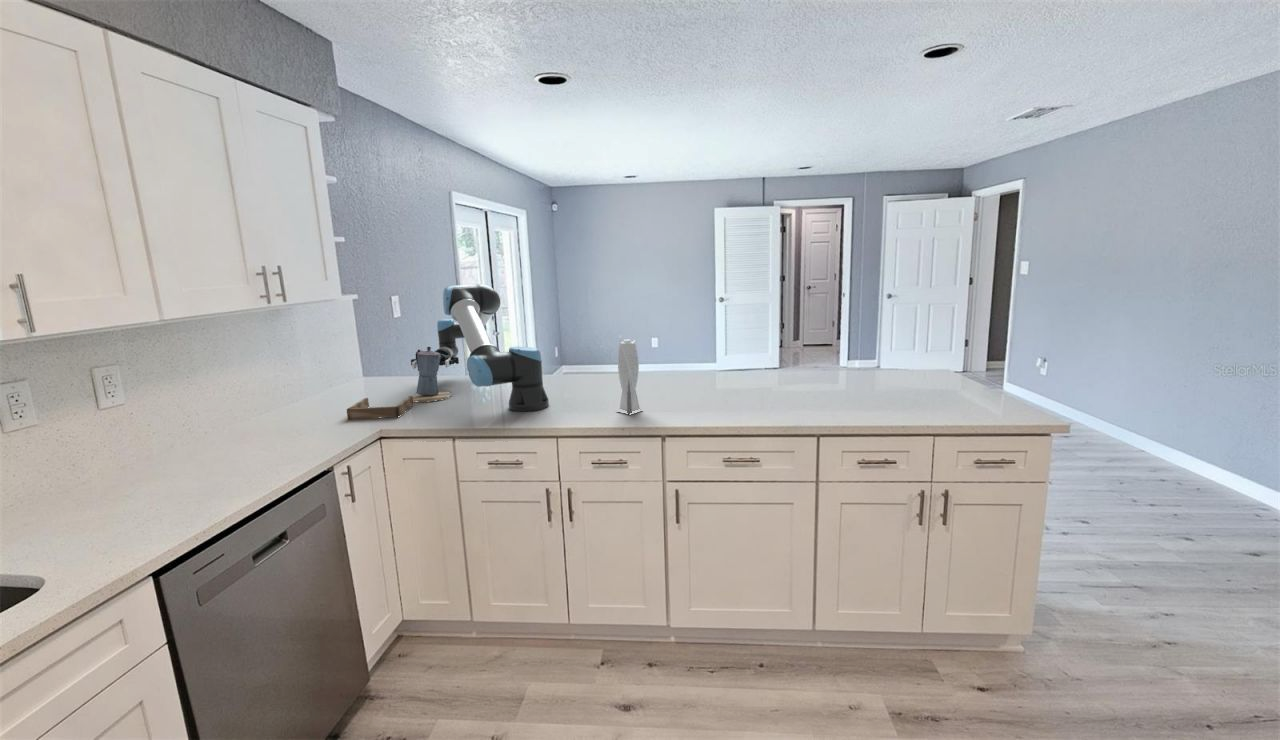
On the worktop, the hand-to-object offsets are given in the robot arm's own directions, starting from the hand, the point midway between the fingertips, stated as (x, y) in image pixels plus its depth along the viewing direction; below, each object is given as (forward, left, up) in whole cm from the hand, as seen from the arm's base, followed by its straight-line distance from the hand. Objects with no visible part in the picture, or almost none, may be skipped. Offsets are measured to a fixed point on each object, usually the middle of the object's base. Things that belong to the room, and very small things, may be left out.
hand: (429, 365), depth 238 cm
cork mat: (-4, +1, -13) cm, 14 cm away
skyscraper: (-70, -58, -13) cm, 92 cm away
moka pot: (-1, +3, -12) cm, 12 cm away
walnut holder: (-17, +21, -13) cm, 30 cm away
